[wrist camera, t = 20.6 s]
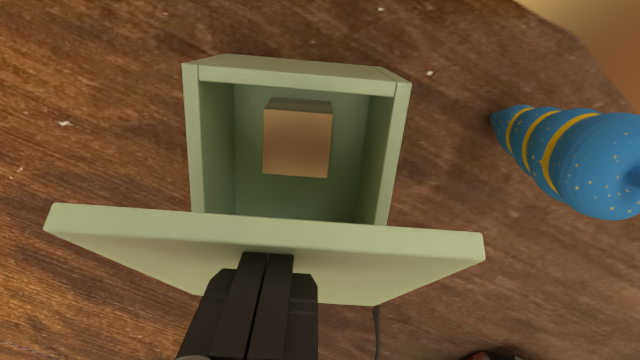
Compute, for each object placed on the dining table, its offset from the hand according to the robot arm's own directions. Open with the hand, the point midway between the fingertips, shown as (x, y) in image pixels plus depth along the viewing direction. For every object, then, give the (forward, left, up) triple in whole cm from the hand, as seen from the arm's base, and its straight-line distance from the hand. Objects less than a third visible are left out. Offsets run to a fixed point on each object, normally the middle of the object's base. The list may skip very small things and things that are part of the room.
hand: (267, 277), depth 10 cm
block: (0, 0, -18) cm, 18 cm away
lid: (+3, 0, -5) cm, 6 cm away
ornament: (-2, +15, -19) cm, 24 cm away
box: (+2, 0, -18) cm, 19 cm away
